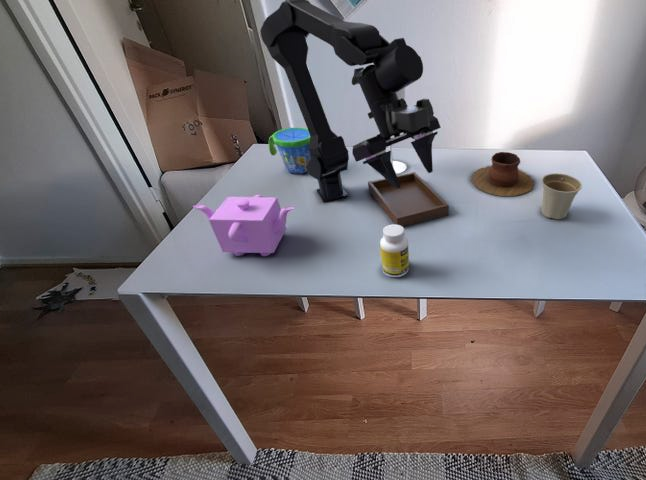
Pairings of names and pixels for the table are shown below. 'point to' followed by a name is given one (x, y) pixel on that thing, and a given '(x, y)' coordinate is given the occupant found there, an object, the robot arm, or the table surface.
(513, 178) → the ceramic pot
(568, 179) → the flower pot
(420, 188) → the tray
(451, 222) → the table surface
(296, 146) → the snack cup
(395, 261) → the supplement bottle
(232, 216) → the teapot
